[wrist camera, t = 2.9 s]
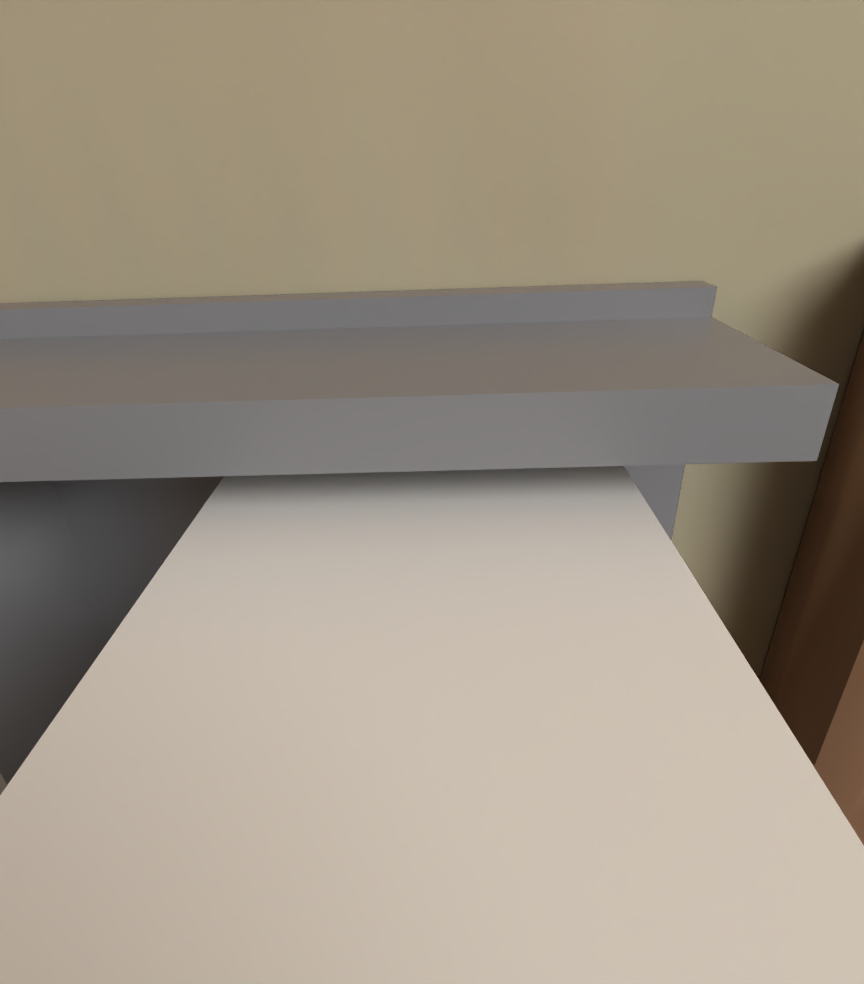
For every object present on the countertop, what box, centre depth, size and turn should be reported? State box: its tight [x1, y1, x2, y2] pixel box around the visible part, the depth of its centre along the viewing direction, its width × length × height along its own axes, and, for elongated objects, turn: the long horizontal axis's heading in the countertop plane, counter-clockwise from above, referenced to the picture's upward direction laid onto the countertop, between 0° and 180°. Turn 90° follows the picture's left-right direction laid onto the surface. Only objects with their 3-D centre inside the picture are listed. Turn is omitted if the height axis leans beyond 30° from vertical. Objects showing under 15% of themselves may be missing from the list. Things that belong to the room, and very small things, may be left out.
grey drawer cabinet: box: [0, 281, 839, 795], centre depth 10 cm, size 11×11×4 cm
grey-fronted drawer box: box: [0, 466, 864, 984], centre depth 6 cm, size 5×7×7 cm
